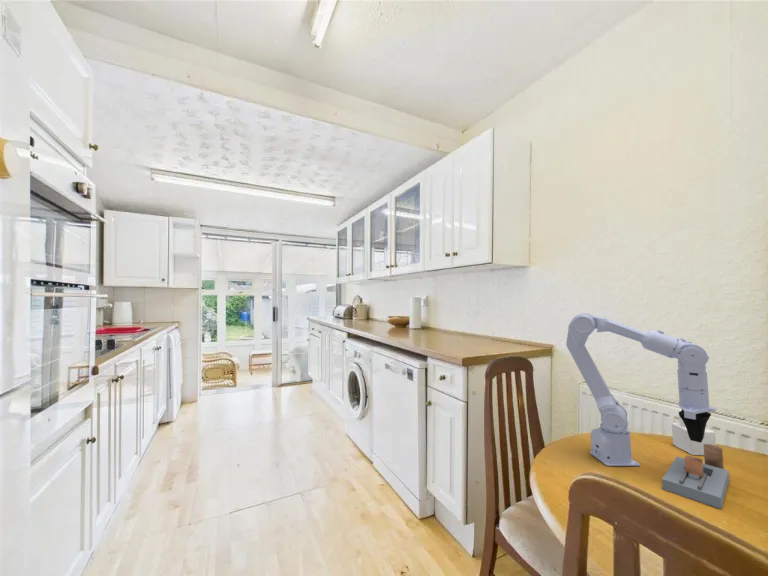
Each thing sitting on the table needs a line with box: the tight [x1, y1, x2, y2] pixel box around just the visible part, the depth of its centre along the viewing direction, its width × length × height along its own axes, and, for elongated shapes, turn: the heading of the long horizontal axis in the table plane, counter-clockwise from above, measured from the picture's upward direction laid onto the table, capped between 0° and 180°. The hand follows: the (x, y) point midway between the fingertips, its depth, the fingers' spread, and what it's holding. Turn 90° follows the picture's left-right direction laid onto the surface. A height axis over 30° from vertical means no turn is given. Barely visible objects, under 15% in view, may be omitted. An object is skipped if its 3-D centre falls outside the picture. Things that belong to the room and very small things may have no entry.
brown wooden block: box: [703, 444, 725, 469], centre depth 86 cm, size 4×4×6 cm
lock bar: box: [684, 454, 704, 480], centre depth 81 cm, size 7×3×4 cm, turn 128°
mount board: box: [661, 456, 730, 510], centre depth 80 cm, size 18×10×3 cm, turn 128°
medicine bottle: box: [671, 409, 717, 456], centre depth 99 cm, size 7×7×12 cm
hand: (696, 440), depth 83 cm, fingers closed
